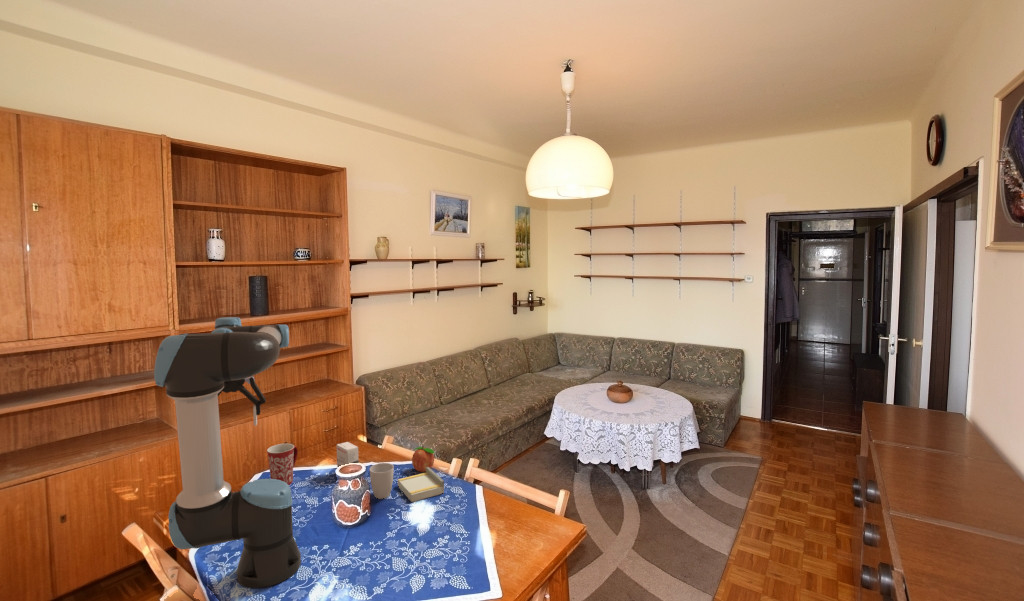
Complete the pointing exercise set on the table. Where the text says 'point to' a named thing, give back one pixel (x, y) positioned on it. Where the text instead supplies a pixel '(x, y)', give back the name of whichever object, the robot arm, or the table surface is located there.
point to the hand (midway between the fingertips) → (232, 427)
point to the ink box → (346, 454)
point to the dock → (422, 485)
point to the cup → (381, 479)
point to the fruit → (423, 458)
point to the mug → (282, 462)
